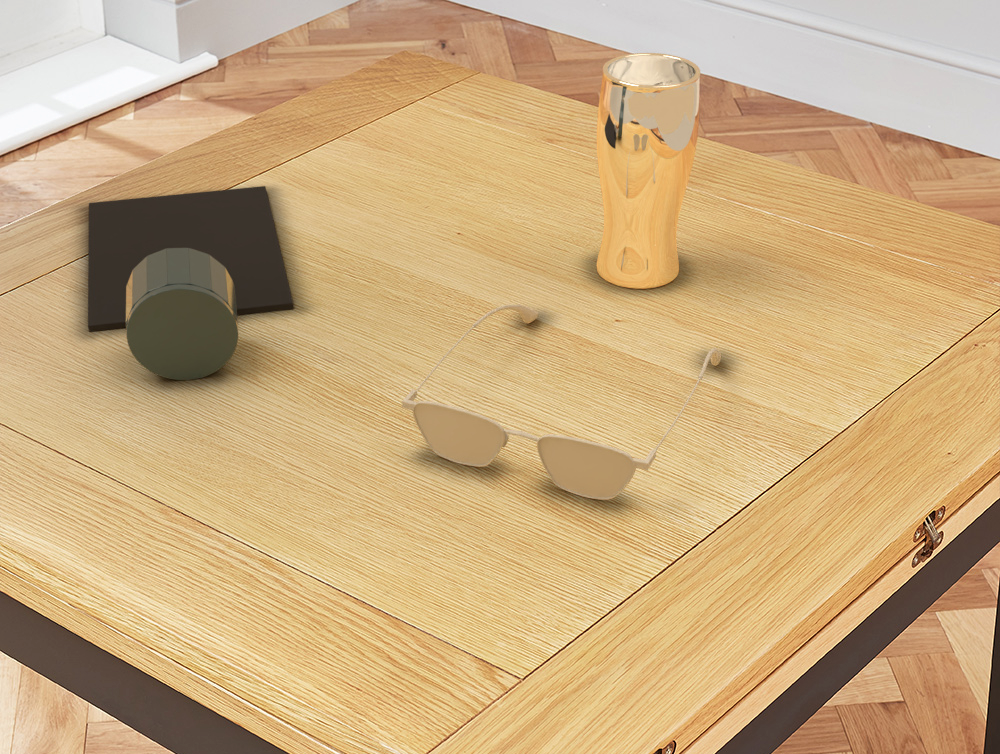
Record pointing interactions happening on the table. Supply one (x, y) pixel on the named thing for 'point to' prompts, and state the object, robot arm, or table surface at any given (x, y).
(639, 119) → the beer glass
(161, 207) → the mat
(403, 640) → the table surface
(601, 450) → the eyeglasses
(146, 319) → the cup
